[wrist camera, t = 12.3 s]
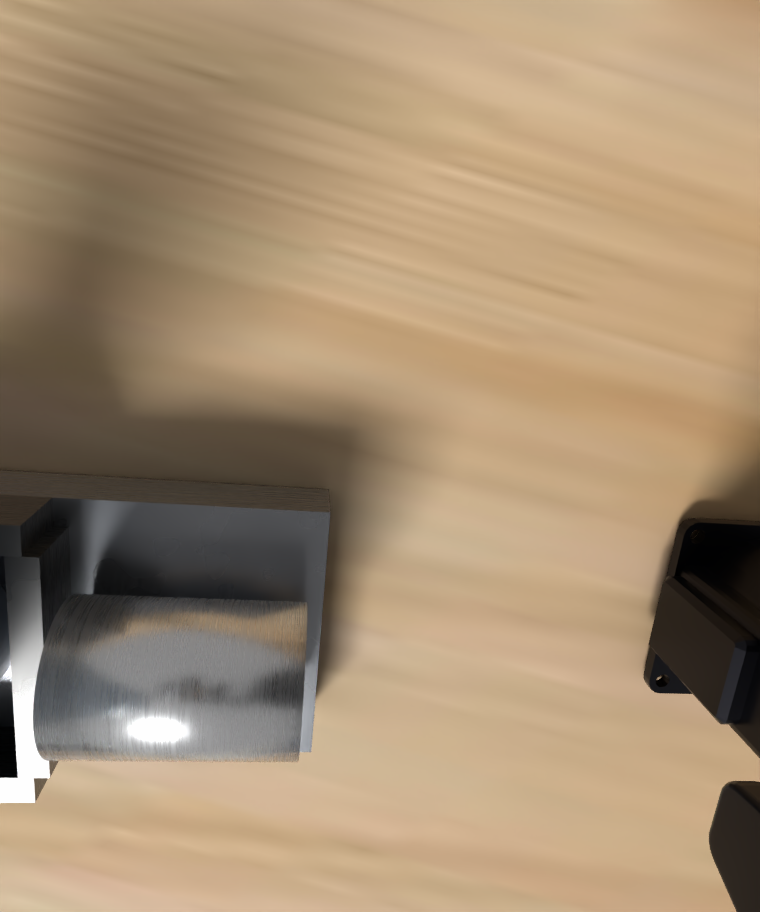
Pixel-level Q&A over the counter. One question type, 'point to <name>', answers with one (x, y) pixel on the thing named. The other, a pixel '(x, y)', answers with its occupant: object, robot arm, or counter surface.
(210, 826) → the counter surface
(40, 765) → the dark grey open box
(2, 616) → the dome-capped cylinder
